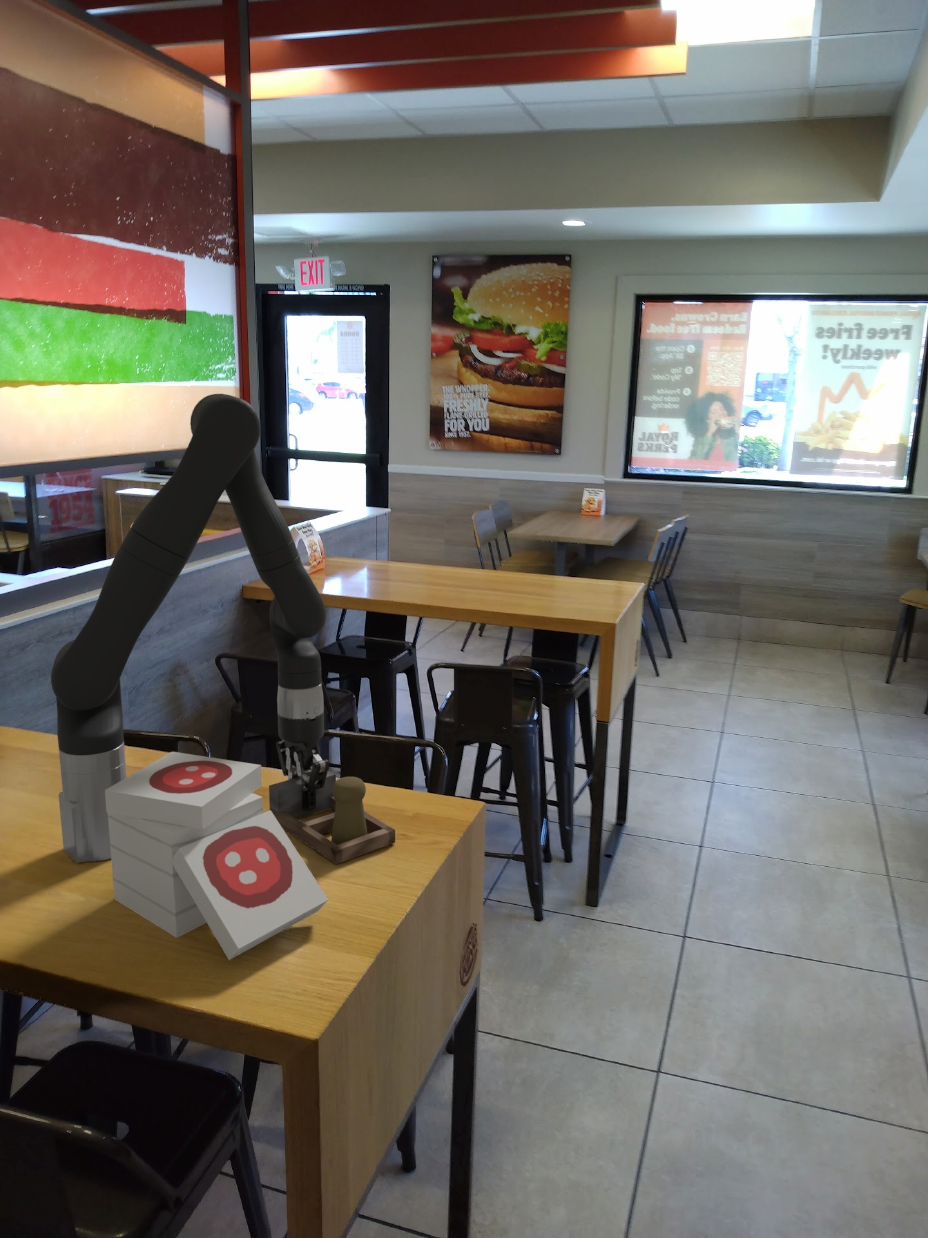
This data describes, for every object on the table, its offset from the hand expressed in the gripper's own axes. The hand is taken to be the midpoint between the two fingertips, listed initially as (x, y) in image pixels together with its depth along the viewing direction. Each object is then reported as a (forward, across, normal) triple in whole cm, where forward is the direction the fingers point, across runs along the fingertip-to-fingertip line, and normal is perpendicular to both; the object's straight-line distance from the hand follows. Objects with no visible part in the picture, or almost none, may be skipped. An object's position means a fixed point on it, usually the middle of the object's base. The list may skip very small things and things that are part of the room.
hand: (303, 805), depth 157 cm
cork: (+2, +14, 0) cm, 14 cm away
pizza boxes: (+2, +18, -25) cm, 31 cm away
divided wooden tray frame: (+2, +8, 0) cm, 9 cm away
